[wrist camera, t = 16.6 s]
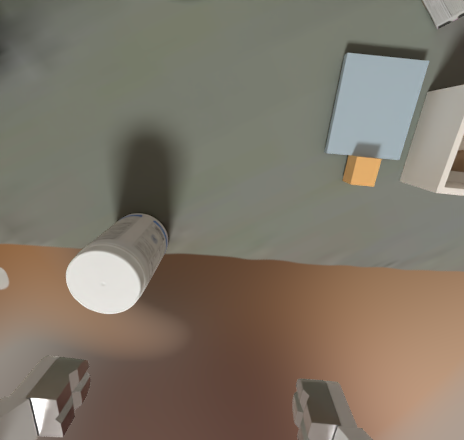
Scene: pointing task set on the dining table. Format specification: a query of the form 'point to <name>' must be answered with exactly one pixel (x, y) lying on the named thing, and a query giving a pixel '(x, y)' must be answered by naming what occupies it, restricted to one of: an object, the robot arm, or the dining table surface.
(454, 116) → the tub
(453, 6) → the candy bar box
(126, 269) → the supplement tub
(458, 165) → the part
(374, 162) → the lid
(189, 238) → the dining table surface
